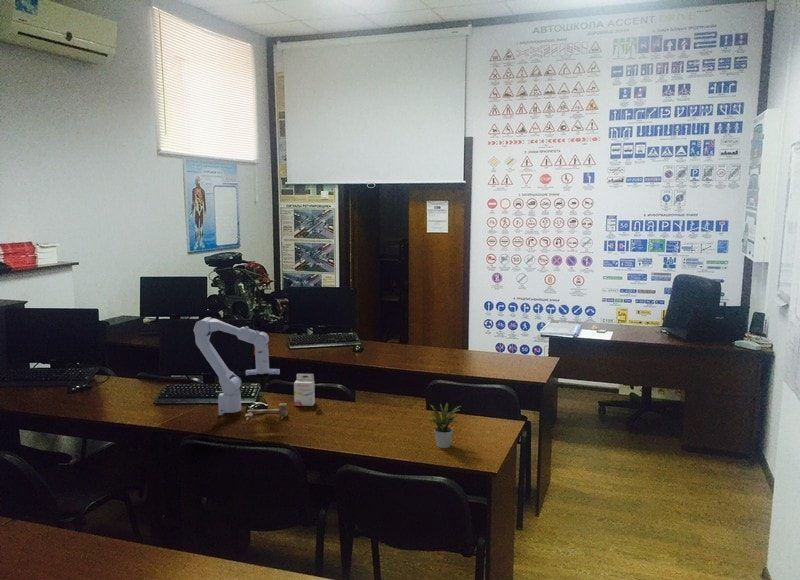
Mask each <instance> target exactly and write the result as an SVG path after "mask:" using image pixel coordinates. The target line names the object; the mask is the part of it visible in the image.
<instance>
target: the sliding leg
mask: <svg viewBox="0 0 800 580" xmlns="http://www.w3.org/2000/svg"><path fill="white" fill-rule="evenodd" d="M278 409H279V413H278V417H279V418H280V419H281V420H283V418H285V417H287V416H288V404H287V403H286V402H285V403H282V402H281V403H280V402H279V404H278Z"/></svg>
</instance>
